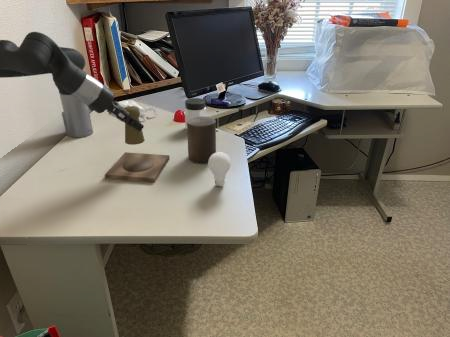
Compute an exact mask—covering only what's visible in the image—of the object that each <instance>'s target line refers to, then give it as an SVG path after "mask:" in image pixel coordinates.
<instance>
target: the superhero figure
mask: <svg viewBox="0 0 450 337" xmlns="http://www.w3.org/2000/svg"><path fill="white" fill-rule="evenodd" d="M117 102H118V101H117ZM118 103H119V104H120V105H121V106H122V107H123V108H125V107H128V106H136V107H138V108H139V110H140V116H139V117H142V119H143V121H144V122H147V120H148V119H147V117H146V112H150V111H151V112H152V111H153V113H154V116H155V117H156V116H158V111H157V109H156V107H149V106H147V107H142V106H140V105H139V104H138V103H137V102H135V101H134V100H132V99H131V100H122V101H119V102H118Z"/></svg>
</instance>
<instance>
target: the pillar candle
mask: <svg viewBox="0 0 450 337" xmlns="http://www.w3.org/2000/svg"><path fill="white" fill-rule="evenodd" d="M216 123H217V122H216V119H215V118H214V117H211V116H206V117H203V116H201V117H200V116H199V117H193V118H190V119H188V120H187V129H186V130H187V155H188V160H189V161H191V162H192V163H194V164H198V165H199V164H201V165H202V164H203V165H204V164H208V161H209V158H210V157H211V155H212V154H214V153H216V152H217V130H216V128H217V127H216V126H217V125H216Z"/></svg>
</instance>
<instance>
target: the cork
mask: <svg viewBox="0 0 450 337" xmlns="http://www.w3.org/2000/svg"><path fill="white" fill-rule="evenodd" d="M124 109H125V110H126V111H128V112H129V115H130V116H132V117H134V118H135V120H137V121H138V122H139V123H141V121H140V117H141V116H140V110H139V108H138V107H136V106H128V107H125V108H124ZM124 112H125V111H124ZM125 113H126V112H125ZM130 119H131V118H130ZM130 119H129V120H130ZM129 120H128V121H129ZM128 121H127V122H128ZM144 142H145V136H144V132H143V129H142V130H141V131H138V130H137V129H135V128H134V127H132V126H128V125H127V124H126V123H124V143H125V145H130V146H133V145H140V144H143V143H144Z"/></svg>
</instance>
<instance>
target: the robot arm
mask: <svg viewBox="0 0 450 337" xmlns="http://www.w3.org/2000/svg"><path fill="white" fill-rule="evenodd" d="M85 66H86V59H85V57H84V55H83V54H82V53H81V52H80V51H78V50H77V49H74V48H72V47H71V48H69V47H63V46H59V45H58V43H56V42H55V41H54V40H53V39H52V38H51V37H49V36H48V35H46V34H44V33H42V32H38V31H30V32H28V33H27V34H26V35H25V37H24V38H23V40H22V42H21V44H20V45H19V46H17V44H16V43H15V42H13V41H11V40H9V39H8V40H7V39H0V79H1V78H4V79H5V78H21V77H31V76H32V77H33V76H40V75H41V76H42V75H49V74H51V75H52V81H53V82H54V85H55V87H56V88H57V90H58V93H59V97H60V101H61V107H62V109H63V111H61V117H62V121H63V125H64V129H65V133H66V136H69V137H71V138H84V137H88V136H90V135H92V134H93V133H94V127H93V124H92V119H91V114H90V113H91V112H90V109H91V110H92V111H94V112H95V113H97V114H102V113H103V112H104V113H105V111H106V113H107V112H108V115H110V116H112V117H114V118H116V119H117V120H119V121H120V122H122V123H124V124H125V123H126V124H127V125H128V126H132V127H134V128H135V129H137V130H138V131H141V130H142V131H143V129H144V127H145V126H144V124H142V123H141V122H140V123H139V122H138V121H137V120H135V118H134V117H132V116H130V115H129V112H128V111H126V110H125V109H124V108H123V107H122V106H121V105H120V104H119V103H118V101H117V100H114V99H115V92H114V91H113V90H112V89H110V88H109V87H107V86H106V85H104V83H102V82H100V80H98V79H97V78H95V77H94V76H92V75H90V74H88V73H87V72H85V71H84V69H85ZM124 111H125V112H126V113H125V112H124ZM130 118H131V119H130ZM129 119H130V120H129ZM128 120H129V121H128ZM127 121H128V122H127Z"/></svg>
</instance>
